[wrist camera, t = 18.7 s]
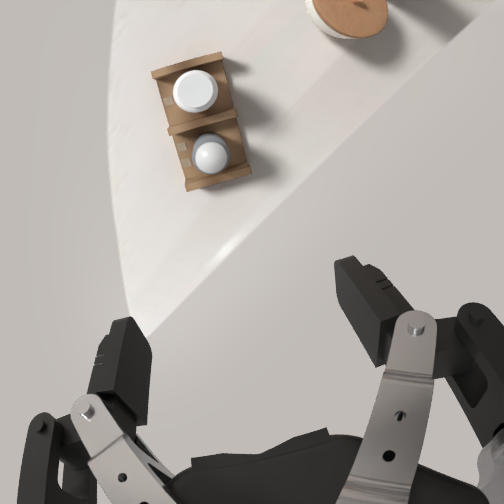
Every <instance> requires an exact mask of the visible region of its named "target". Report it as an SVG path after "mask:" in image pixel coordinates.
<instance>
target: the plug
mask: <svg viewBox="0 0 504 504" xmlns="http://www.w3.org/2000/svg"><path fill="white" fill-rule="evenodd" d="M229 159H230V153H229V149H228V147H227V145H226V143H225V141H224V139H223V138H222V137H221V136H220V135H219V134H218V133H216V132H212V131H208V132H204V133H202V134H200V135H199V136H198V137H197V138H196V140H195V142H194V146H193V153H192V160H193V164H194V166H195V167H196V168H197V169H198V170H199V171H200V172H202V173H204V174H216V173H219V172H221V171H222V170H223V169H225V167H226V166H227V164H228V162H229Z"/></svg>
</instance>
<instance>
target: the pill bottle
mask: <svg viewBox="0 0 504 504" xmlns="http://www.w3.org/2000/svg"><path fill="white" fill-rule="evenodd" d="M217 94H218V86H217V83H216V81H215V79H214V78H213V77H212V76H211V75H210V74H208V73H207V72H204V71H200V70H193V71H189V72H186V73H184V74H183V75H181V76H180V77H179V78H178V80H177V81H176V83H175V85H174V89H173V97H174V100H175V102H176V104H177V105H178V106H179V107H180V108H181V109H183V110H184V111H187V112H192V113H198V112H202V111H205V110H207V109H208V108H209V107H211V106H212V105H213V103H214V102H215V100H216V98H217Z"/></svg>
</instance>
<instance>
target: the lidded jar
mask: <svg viewBox="0 0 504 504" xmlns="http://www.w3.org/2000/svg"><path fill="white" fill-rule="evenodd" d="M305 5H306V10H307V13H308V16H309V18H310V19H311V21H312V22H313V23H314V24H315V26H316V27H318V28H319V29H320V30H321V31H323V32H324V33H326V34H328V35H330V36H333V37H337V38H342V39H358V38H366V37H371V36H373V35H375V34H377V33H379V32H380V31H381V30H382V29H383V28H384V26H385V24H386V22H387V18H388V6H387V2H386V0H305Z"/></svg>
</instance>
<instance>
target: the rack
mask: <svg viewBox="0 0 504 504" xmlns="http://www.w3.org/2000/svg"><path fill="white" fill-rule="evenodd" d="M222 60H223V56H222V52H218V53H214V54H209V55H205V56H202V57H198V58H194V59H190V60H187V61H183V62H180V63H177V64H173V65H170V66H167V67H164V68H161V69H158V70H155V71H152V72H151V74H152V78H153V79H155V80H156V81H157V85H158V88H159V92H160V95H161V99H162V102H163V106H164V109H165V113H166V116H167V120H168V123H169V126H170V127H169V128H168V129H167V130H168V133H169V136H171V135H172V136H173V140H174V143H175V146H176V150H177V153H178V156H179V159H180V163H181V166H182V169H183V172H184V175H185V179H186V181H185V188H186V191H187V192H189V191H192V190H195V189H199V188H202V187H206V186H209V185H213V184H216V183H220V182H223V181H227V180H230V179H234V178H238V177H241V176H245V175H249V174H252V172H251V168H250V166H249V164H248V163H247V160H246V156H245V152H244V148H243V144H242V140H241V136H240V132H239V128H238V124H237V120H236V117H238V115H237V111H236V109H234V108H233V104H232V100H231V96H230V92H229V88H228V84H227V80H226V76H225V72H224V69H223V65H222ZM193 70H200V71H204V72H207V73H208V74H210V75H211V76H212V77H213V78H214V79H215V81H216V83H217V86H218V94H217V98H216V100H215V102H214V103H213V105H212V106H211V107H209V108H208V109H207V110H205V111H202V112H198V113H192V112H187V111H184V110H183V109H181V108H180V107H179V106H178V105H177V104H176V102H175V100H174V97H173V89H174V85H175V83H176V81H177V80H178V78H179V77H180V76H181V75H183V74H184V73H186V72H189V71H193ZM208 131H212V132H216V133H218V134H219V135H220V136H221V137H222V138H223V139H224V141H225V143H226V145H227V147H228V149H229V153H230V159H229V162H228V164H227V166H226V167H225V169H223V170H222V171H221V172H219V173H216V174H204V173H202V172H200V171H199V170H198V169H197V168H196V167H195V166H194V164H193V160H192V153H193V146H194V142H195V140H196V138H197V137H198V136H199V135H200V134H202V133H204V132H208Z"/></svg>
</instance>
